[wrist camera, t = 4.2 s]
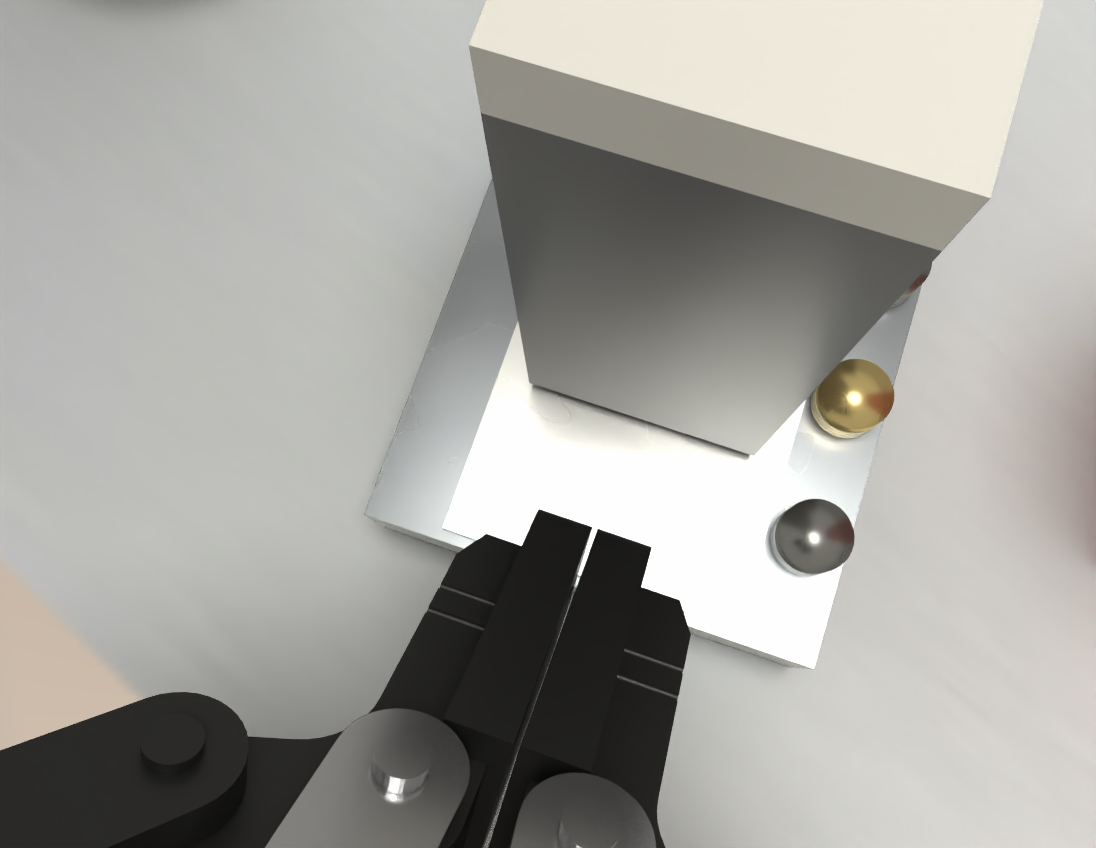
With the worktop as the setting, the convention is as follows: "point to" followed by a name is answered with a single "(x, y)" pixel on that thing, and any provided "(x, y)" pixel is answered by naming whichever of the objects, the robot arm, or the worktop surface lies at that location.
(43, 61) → the worktop surface
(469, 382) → the ball-studded metal plate
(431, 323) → the worktop surface
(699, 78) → the block
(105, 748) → the robot arm
